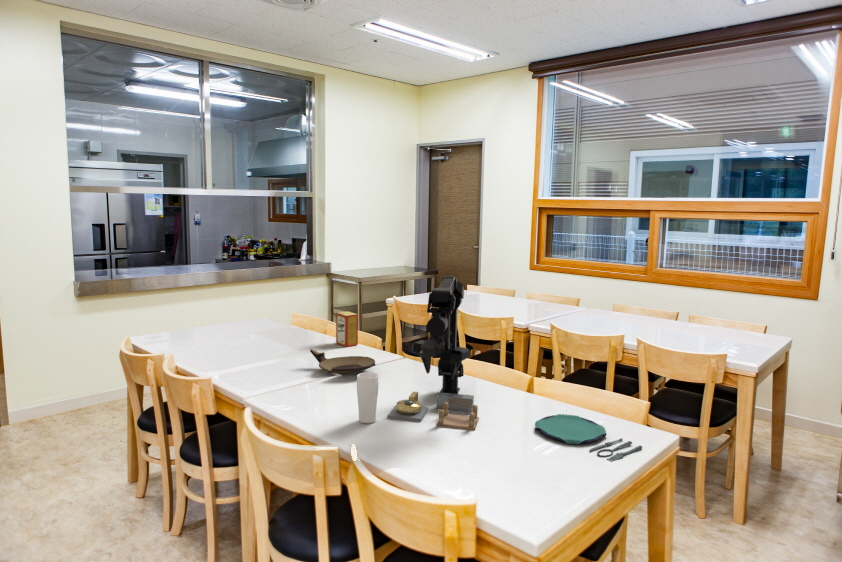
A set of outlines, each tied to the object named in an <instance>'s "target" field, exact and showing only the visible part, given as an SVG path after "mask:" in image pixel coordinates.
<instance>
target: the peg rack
mask: <svg viewBox="0 0 842 562" xmlns="http://www.w3.org/2000/svg"><path fill="white" fill-rule="evenodd" d="M478 407H479V406H478V405H477V404H474V405H473V411H472V413H468V414H469V415H464V414H463V415H461V414H452V413H449V411H448V402H443V410H438V420H437V423H436V426H437V427H443V428H450V429H451V428H453V429H462V430H471V431H475V430H476V428H477V426H478V423H479V420H480V417H479V416H478V411H479V410H478V409H479V408H478Z"/></svg>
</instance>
